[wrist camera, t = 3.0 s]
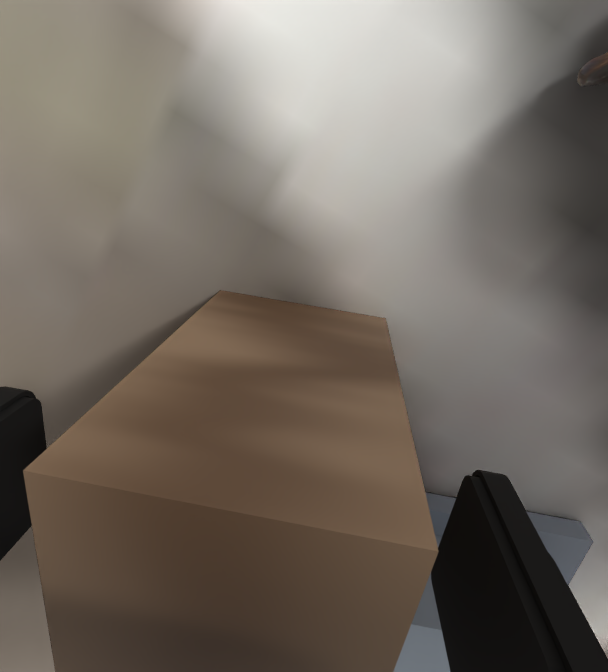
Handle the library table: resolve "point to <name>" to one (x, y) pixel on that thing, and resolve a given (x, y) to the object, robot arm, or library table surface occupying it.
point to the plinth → (425, 631)
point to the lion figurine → (594, 71)
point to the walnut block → (238, 502)
